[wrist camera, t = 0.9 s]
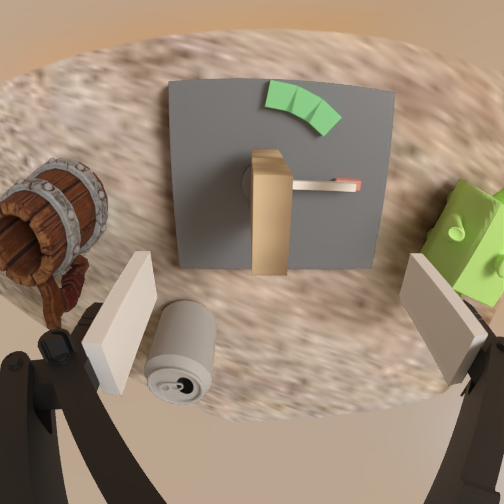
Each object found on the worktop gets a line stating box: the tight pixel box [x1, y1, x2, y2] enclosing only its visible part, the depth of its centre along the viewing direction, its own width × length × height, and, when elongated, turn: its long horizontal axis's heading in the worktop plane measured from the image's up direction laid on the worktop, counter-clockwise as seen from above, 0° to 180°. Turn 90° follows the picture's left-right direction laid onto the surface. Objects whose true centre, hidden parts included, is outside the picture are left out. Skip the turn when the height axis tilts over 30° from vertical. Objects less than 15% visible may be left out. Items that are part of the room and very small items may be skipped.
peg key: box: [242, 148, 356, 275], centre depth 26 cm, size 11×7×12 cm, turn 89°
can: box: [144, 300, 217, 405], centre depth 37 cm, size 8×8×12 cm
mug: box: [0, 158, 108, 330], centre depth 29 cm, size 12×14×15 cm
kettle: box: [419, 179, 504, 307], centre depth 31 cm, size 15×14×11 cm
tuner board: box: [169, 78, 395, 269], centre depth 32 cm, size 22×20×3 cm
